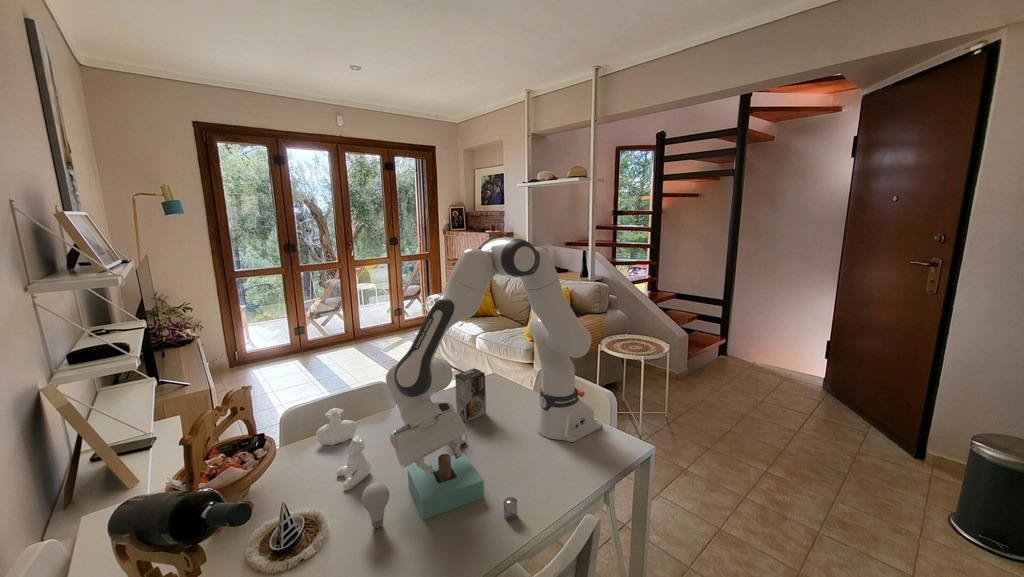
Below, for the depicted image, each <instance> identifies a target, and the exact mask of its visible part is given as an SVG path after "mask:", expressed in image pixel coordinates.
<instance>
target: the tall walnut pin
mask: <svg viewBox="0 0 1024 577" xmlns="http://www.w3.org/2000/svg"><path fill="white" fill-rule="evenodd" d="M451 456H452V455H450V454H449V453H443V454H440V455H439V456H438V458H437V460H438V465H439V483H442V482H445V481H448V480H451Z"/></svg>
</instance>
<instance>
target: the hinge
mask: <svg viewBox="0 0 1024 577" xmlns="http://www.w3.org/2000/svg"><path fill="white" fill-rule="evenodd" d="M451 405H452V407H453V408H452V409H451V410H453V411H455V412H456V409H455V408H454V405H453V404H452V403H451ZM460 418H461V419H462V417H461V416H460ZM462 421H463V422H464V420H462ZM466 433H467V432H466ZM466 433H465V434H464V435H463V436H462V437H460V438H458V439H459V440H460V446H461V445H463V444H465V446H469V443H468V438H467V434H466ZM449 444H450V446H451V448H452V449H455V445H454V446H452V444H451V443H449Z"/></svg>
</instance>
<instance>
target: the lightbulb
mask: <svg viewBox="0 0 1024 577" xmlns="http://www.w3.org/2000/svg"><path fill="white" fill-rule="evenodd" d="M389 499H390V491H389V488H388V486H387V485H386V484H385V483H382V482H379V481H378V482H377V481H376V482H372V483H370V484H368V485H367V486H366V487H365V488H364V490H363V492H362V494H361V504H362V507H364V509H365V510H366V511H367V513H368V515H369V518H370V521H371V527H372V528H374V529H380V528H381V527H382V526H383V525H384V516H385V509H386V506H387V505H388V502H389Z"/></svg>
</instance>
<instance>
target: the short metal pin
mask: <svg viewBox="0 0 1024 577" xmlns="http://www.w3.org/2000/svg"><path fill="white" fill-rule="evenodd" d="M503 518H504V520H505V521H507V522H513V521H516V520H517V518H518V500H517V499H516V498H515V497H514V496H509V497H505V499H504V500H503Z"/></svg>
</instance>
